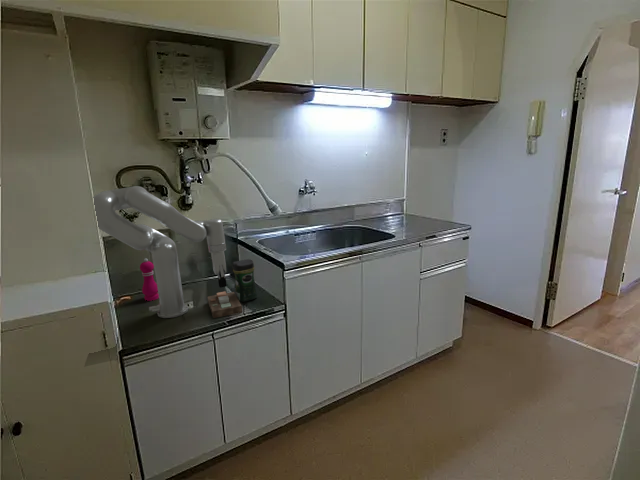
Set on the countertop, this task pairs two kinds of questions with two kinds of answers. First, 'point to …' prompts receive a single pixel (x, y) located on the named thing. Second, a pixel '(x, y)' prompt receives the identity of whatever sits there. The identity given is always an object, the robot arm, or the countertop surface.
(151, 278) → the pepper mill
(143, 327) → the countertop surface
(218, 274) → the robot arm
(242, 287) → the coffee jar
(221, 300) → the grey key
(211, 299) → the keypad
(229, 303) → the sage key
